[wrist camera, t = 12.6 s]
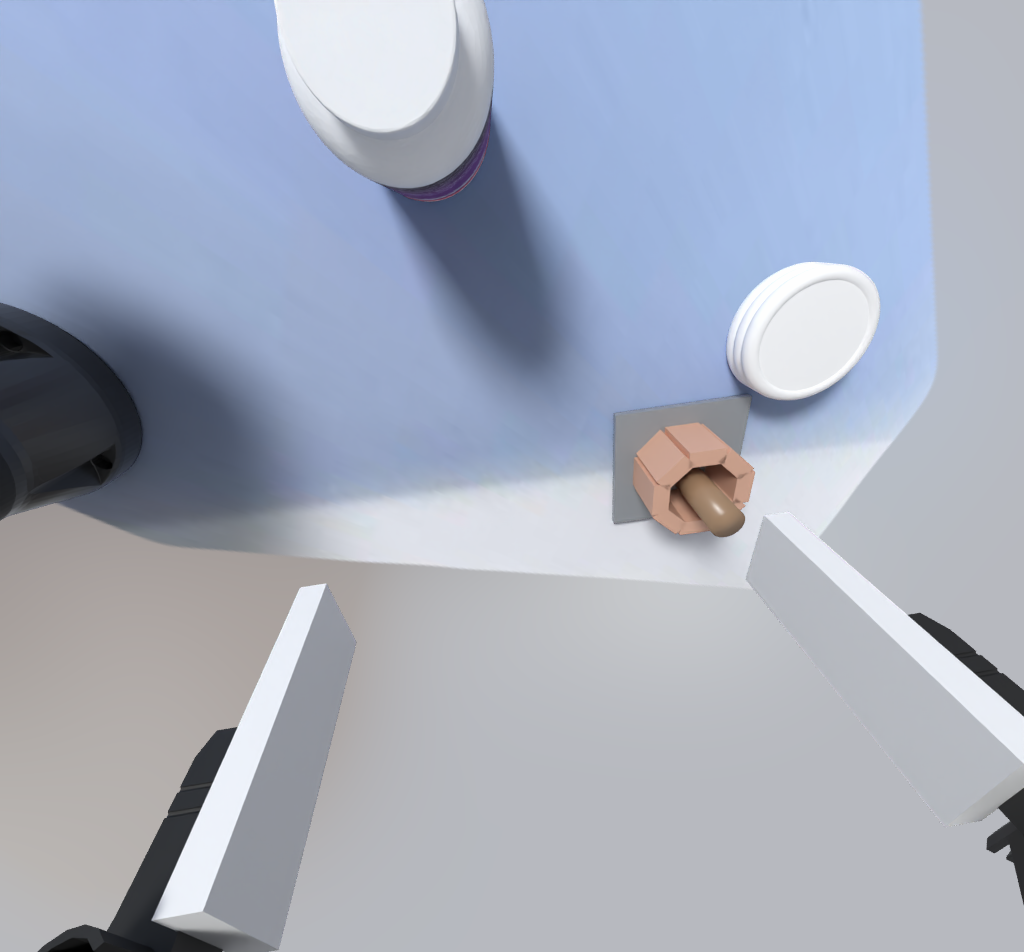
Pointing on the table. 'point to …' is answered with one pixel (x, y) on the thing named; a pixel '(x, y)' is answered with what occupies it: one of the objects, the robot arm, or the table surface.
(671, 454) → the ring
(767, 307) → the coaster
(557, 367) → the table surface
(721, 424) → the post block
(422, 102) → the pill bottle
